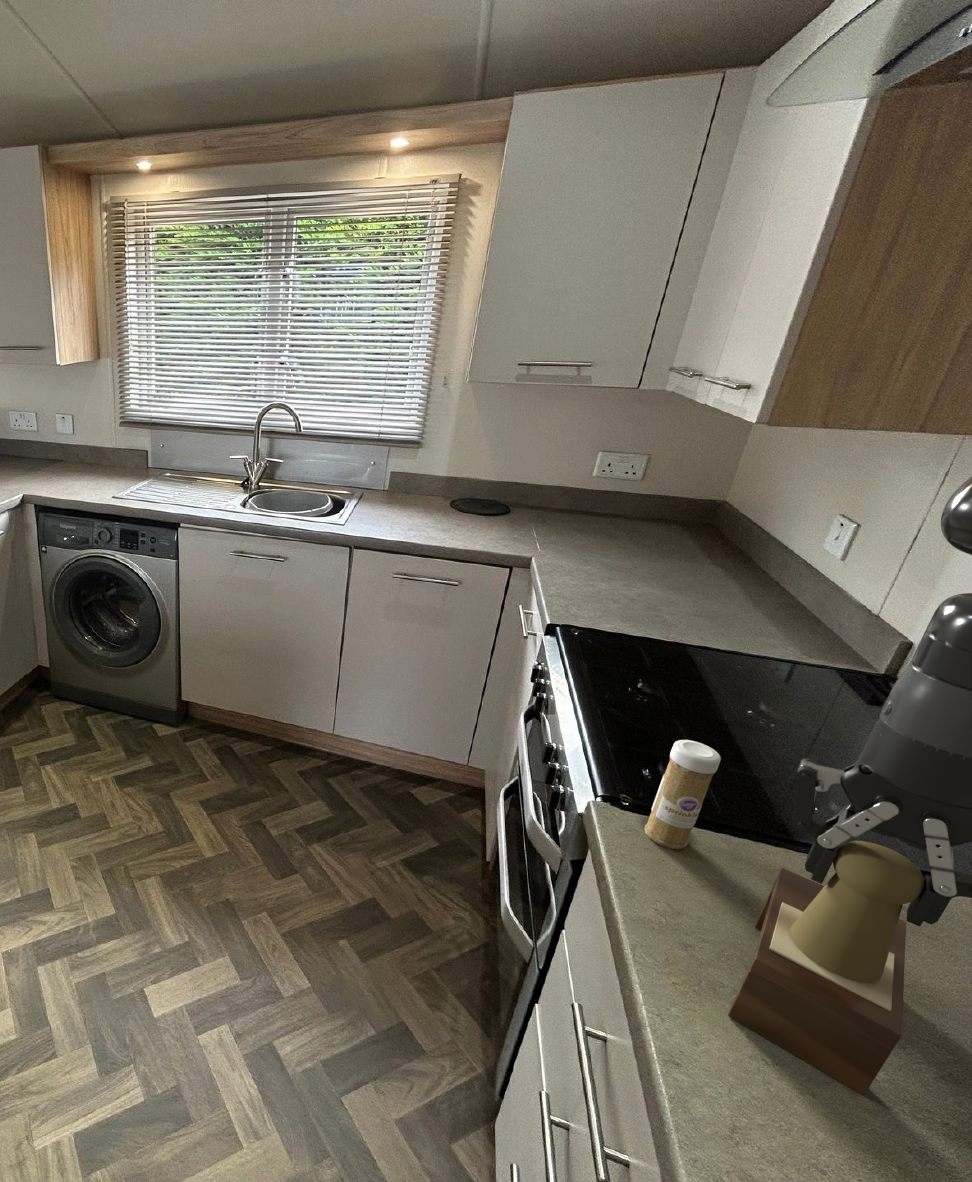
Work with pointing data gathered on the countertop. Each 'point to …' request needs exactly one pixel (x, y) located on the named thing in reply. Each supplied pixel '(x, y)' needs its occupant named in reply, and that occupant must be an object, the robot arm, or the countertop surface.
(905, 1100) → the countertop surface
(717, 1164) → the countertop surface
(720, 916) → the countertop surface
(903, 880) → the cork
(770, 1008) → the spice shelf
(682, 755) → the sprinkles bottle
